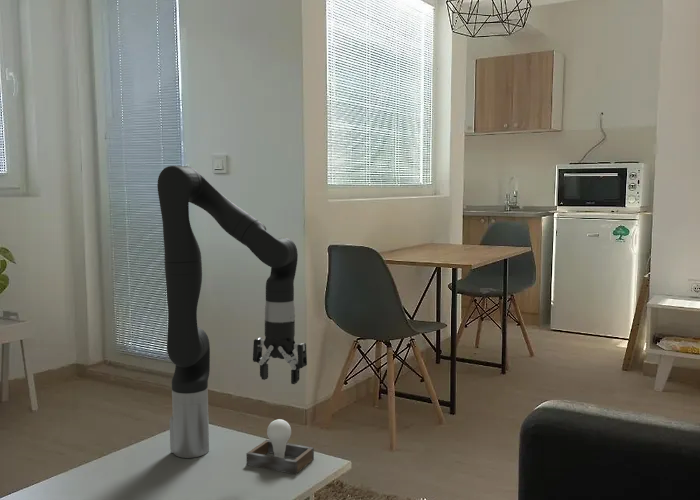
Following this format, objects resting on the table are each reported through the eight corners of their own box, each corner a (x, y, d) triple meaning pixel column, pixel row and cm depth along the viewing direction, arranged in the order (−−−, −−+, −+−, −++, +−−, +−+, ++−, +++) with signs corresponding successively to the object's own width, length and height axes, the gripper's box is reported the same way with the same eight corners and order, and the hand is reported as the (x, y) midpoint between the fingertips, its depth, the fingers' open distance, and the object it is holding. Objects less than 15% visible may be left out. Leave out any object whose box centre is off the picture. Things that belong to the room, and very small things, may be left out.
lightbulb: (287, 467, 171) (287, 424, 170) (264, 465, 172) (263, 423, 171) (294, 457, 177) (293, 416, 176) (271, 455, 178) (271, 415, 177)
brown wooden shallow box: (246, 464, 173) (246, 453, 172) (266, 450, 182) (266, 439, 181) (295, 474, 167) (295, 462, 167) (313, 458, 176) (313, 447, 176)
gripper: (247, 318, 170) (247, 381, 172) (297, 323, 164) (297, 389, 166) (262, 313, 177) (262, 374, 179) (311, 318, 171) (311, 380, 173)
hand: (279, 381), depth 172 cm, fingers open, 8 cm apart
